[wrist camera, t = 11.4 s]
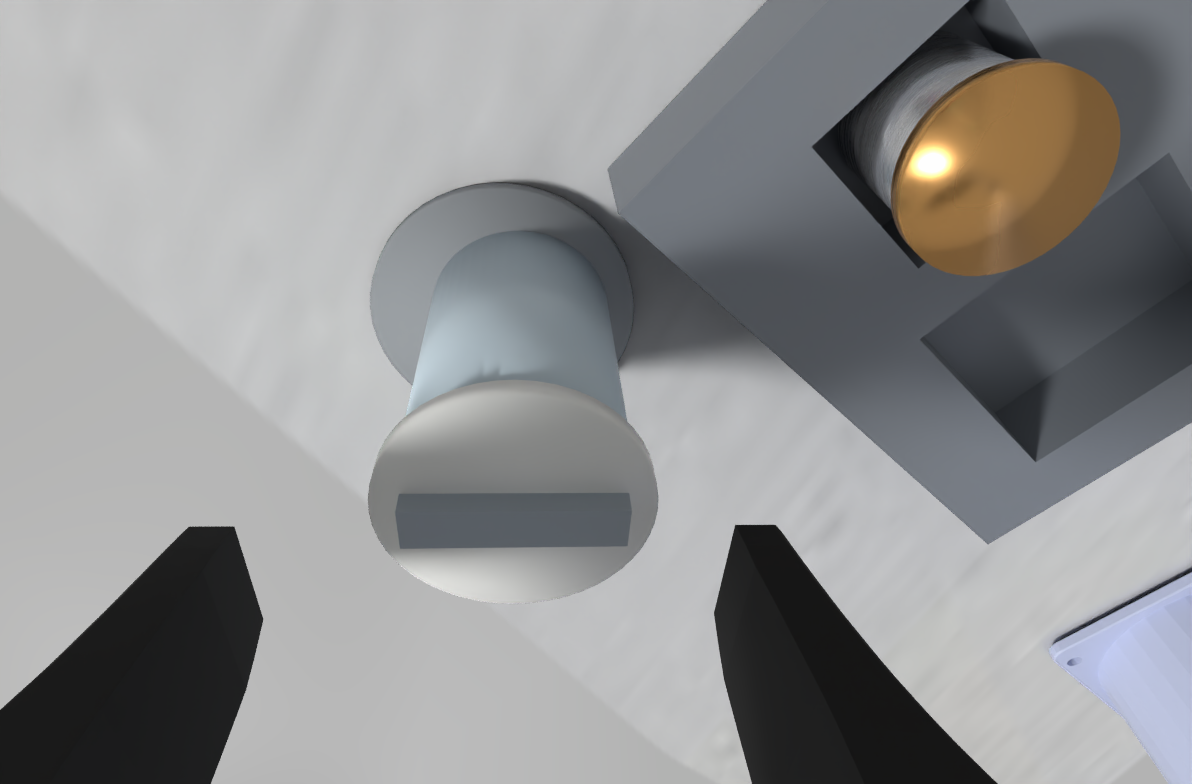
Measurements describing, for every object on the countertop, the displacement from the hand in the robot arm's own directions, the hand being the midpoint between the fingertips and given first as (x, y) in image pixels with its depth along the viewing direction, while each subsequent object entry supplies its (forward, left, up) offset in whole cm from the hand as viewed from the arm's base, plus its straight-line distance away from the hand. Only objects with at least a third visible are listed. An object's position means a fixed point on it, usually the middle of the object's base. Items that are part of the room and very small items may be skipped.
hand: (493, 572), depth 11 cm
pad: (0, 0, -8) cm, 8 cm away
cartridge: (0, 0, -8) cm, 8 cm away
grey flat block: (-6, -9, -8) cm, 14 cm away
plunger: (-3, -9, -7) cm, 12 cm away
